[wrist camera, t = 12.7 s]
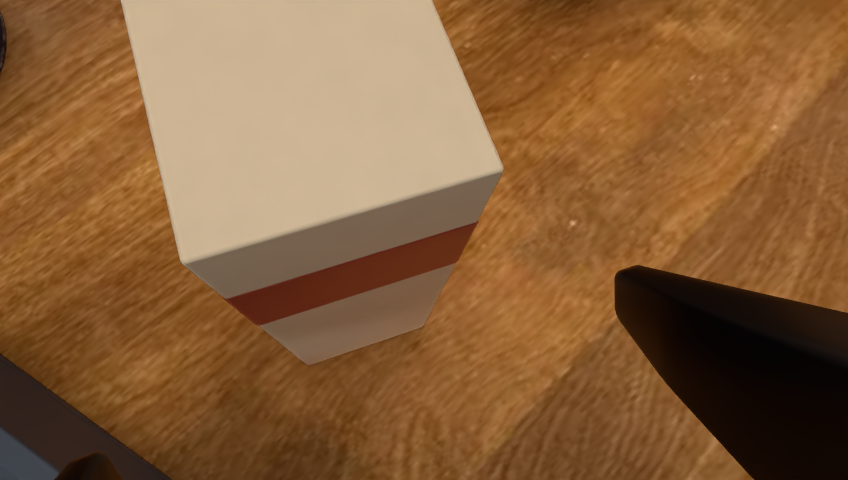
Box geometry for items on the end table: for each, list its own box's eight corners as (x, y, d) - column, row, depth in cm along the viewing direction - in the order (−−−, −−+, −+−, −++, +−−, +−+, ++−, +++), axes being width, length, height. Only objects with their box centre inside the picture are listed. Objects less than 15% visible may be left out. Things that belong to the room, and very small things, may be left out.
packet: (424, 326, 18) (508, 170, 7) (306, 367, 17) (178, 266, 6) (378, 194, 19) (383, -122, 8) (267, 226, 19) (101, -72, 7)
